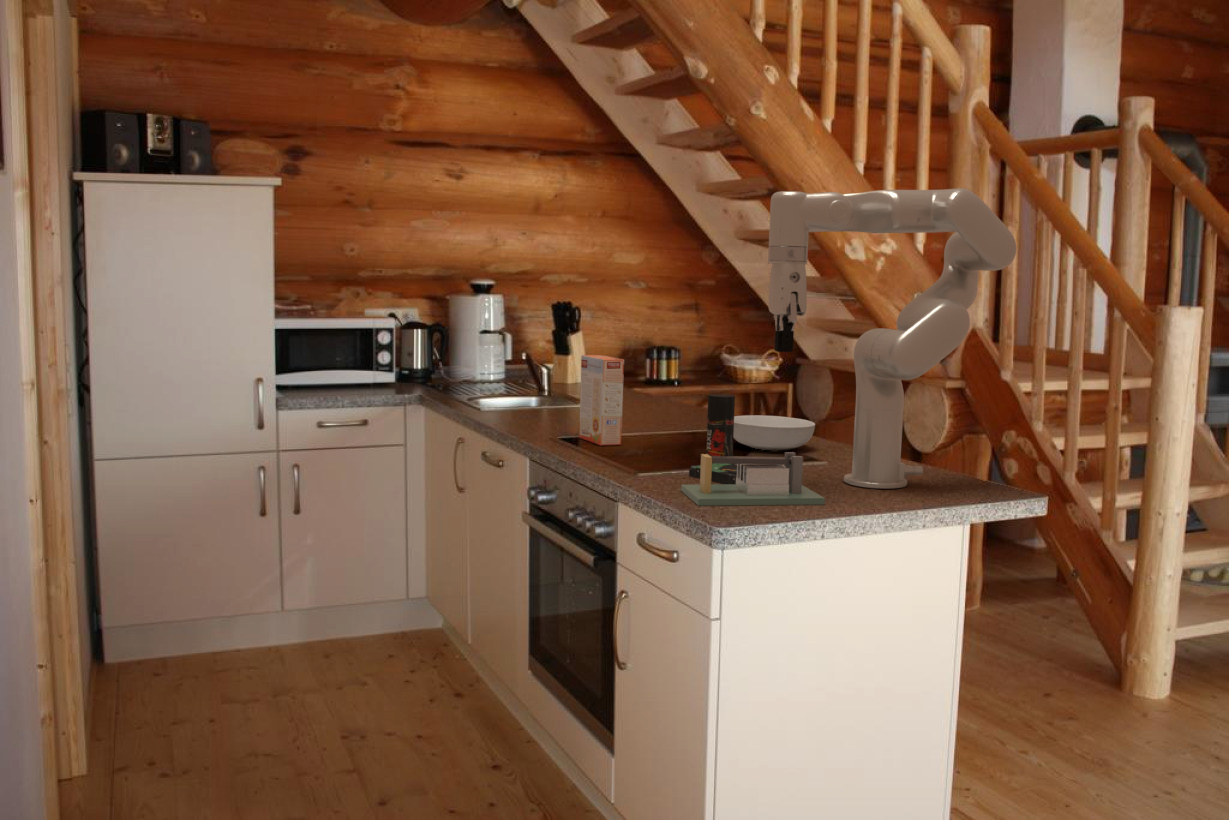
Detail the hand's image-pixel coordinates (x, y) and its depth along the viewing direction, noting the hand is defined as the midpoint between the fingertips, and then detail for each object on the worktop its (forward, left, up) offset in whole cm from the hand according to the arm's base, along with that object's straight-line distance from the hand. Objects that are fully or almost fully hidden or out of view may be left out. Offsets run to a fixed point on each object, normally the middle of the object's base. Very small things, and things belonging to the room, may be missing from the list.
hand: (783, 351), depth 228 cm
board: (+8, +9, -27) cm, 30 cm away
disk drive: (+7, -10, -28) cm, 30 cm away
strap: (+8, +9, -21) cm, 24 cm away
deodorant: (+4, -30, -27) cm, 41 cm away
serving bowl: (-14, -50, -27) cm, 59 cm away
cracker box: (+26, -60, -27) cm, 71 cm away
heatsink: (+6, +9, -26) cm, 28 cm away
